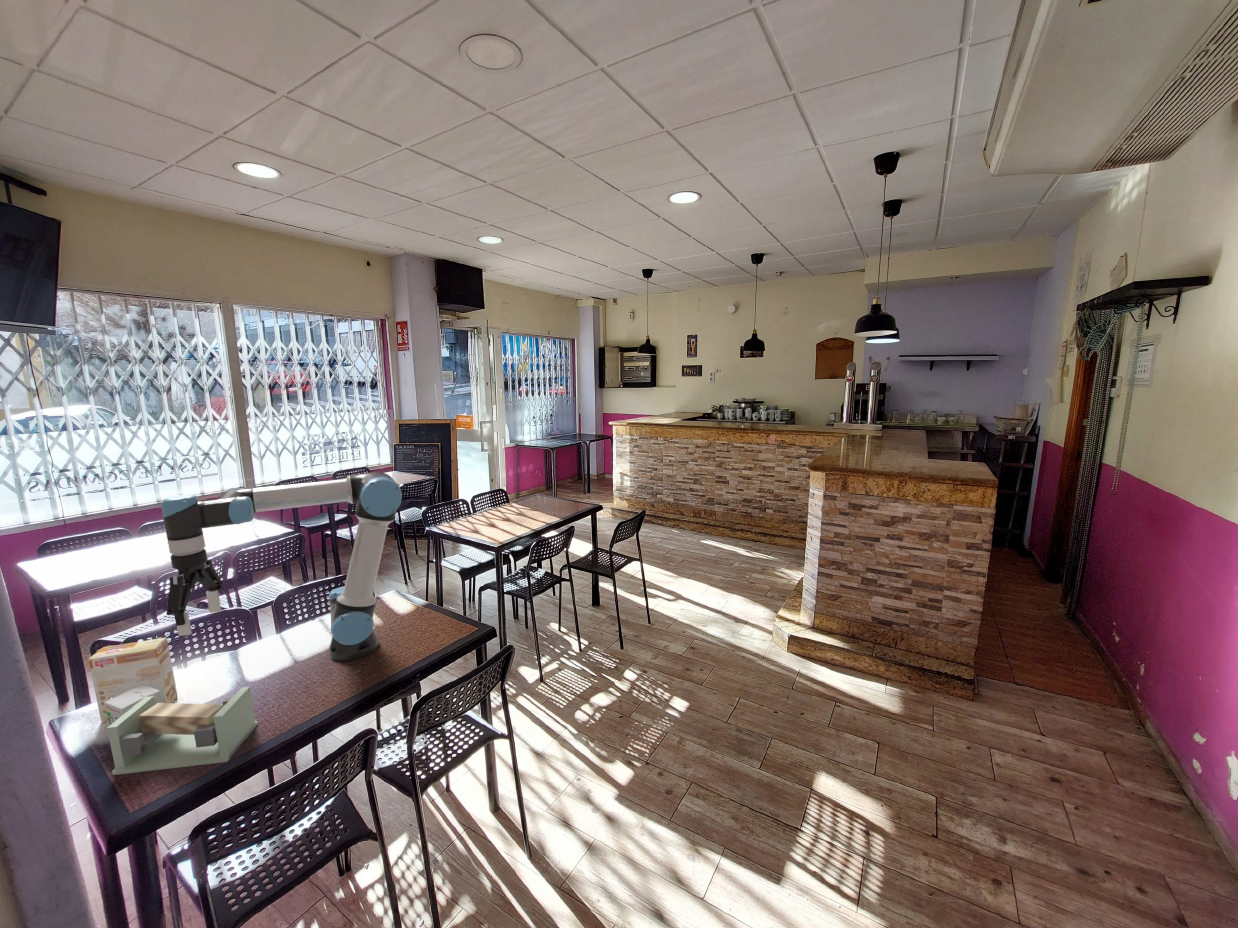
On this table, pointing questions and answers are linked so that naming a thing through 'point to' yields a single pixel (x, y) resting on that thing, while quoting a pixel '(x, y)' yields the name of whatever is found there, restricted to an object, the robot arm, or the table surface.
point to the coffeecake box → (132, 670)
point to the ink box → (128, 701)
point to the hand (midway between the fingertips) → (201, 622)
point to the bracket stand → (180, 738)
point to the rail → (178, 718)
